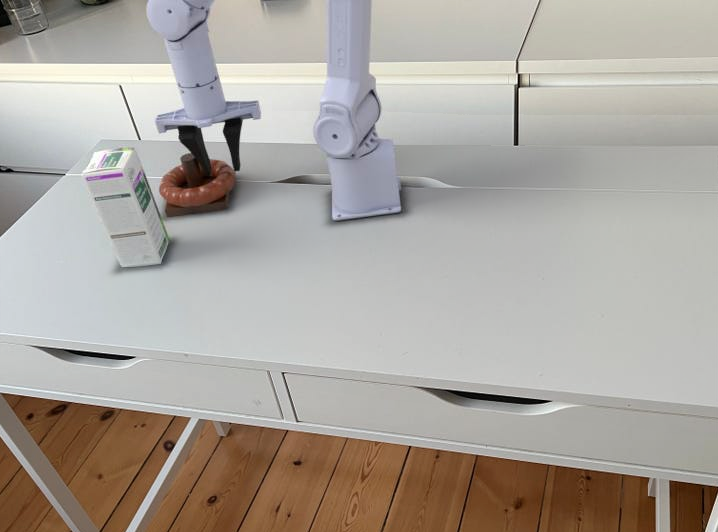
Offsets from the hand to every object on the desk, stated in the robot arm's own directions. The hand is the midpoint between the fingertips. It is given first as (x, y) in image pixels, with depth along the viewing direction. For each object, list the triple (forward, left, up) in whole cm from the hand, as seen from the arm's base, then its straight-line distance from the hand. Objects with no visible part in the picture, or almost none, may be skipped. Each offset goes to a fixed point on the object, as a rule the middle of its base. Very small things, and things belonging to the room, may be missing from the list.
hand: (223, 170), depth 113 cm
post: (+4, 0, -4) cm, 6 cm away
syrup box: (+10, +14, -4) cm, 18 cm away
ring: (+4, 0, -1) cm, 4 cm away
